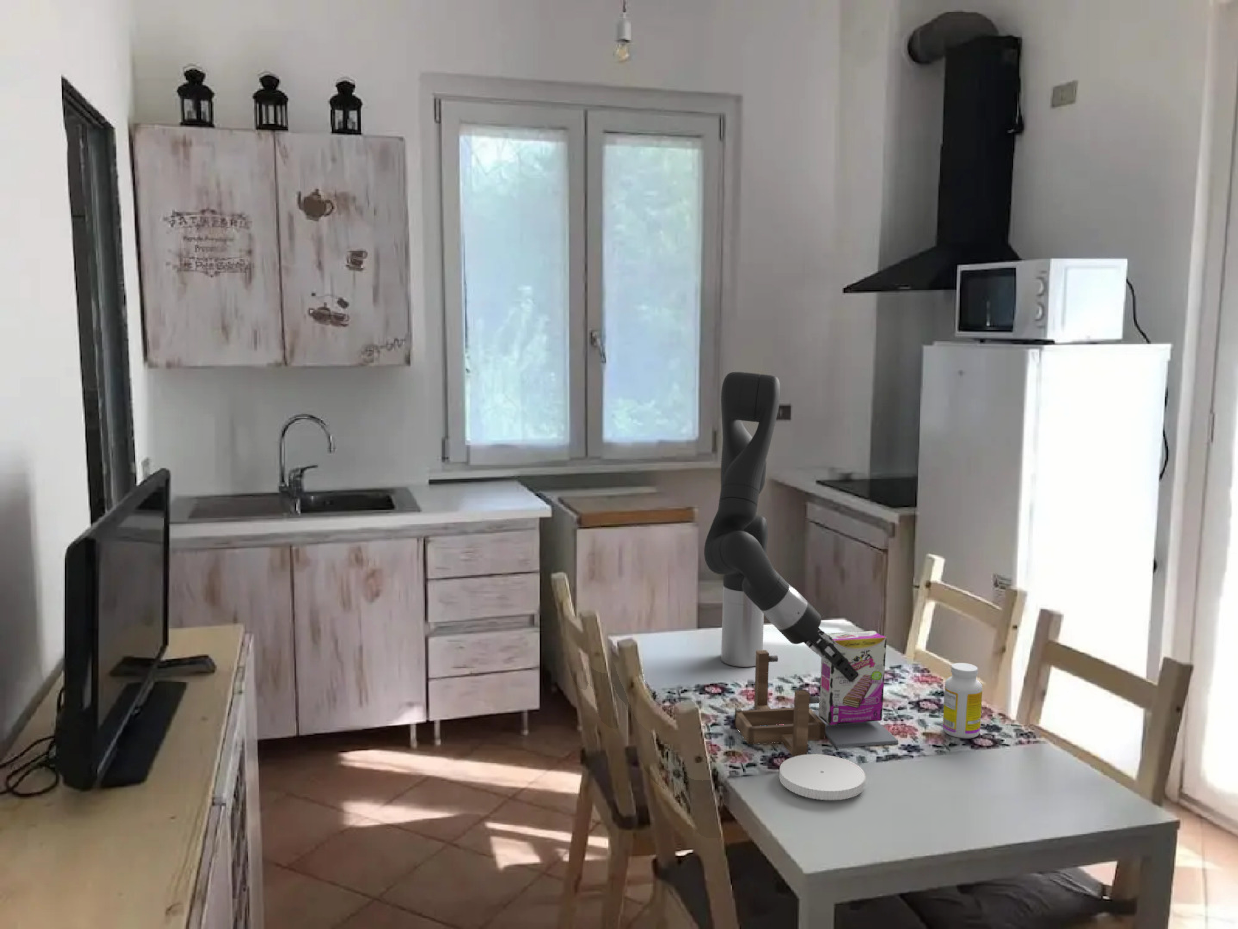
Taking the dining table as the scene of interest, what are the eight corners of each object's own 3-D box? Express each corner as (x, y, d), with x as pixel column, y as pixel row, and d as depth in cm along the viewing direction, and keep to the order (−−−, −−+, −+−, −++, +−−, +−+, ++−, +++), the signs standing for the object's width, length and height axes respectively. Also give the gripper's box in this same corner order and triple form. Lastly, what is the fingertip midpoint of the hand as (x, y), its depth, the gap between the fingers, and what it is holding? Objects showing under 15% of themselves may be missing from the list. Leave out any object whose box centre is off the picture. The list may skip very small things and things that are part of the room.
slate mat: (804, 714, 203) (804, 711, 203) (862, 710, 205) (862, 707, 205) (835, 747, 187) (836, 744, 187) (898, 743, 190) (898, 740, 189)
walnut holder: (723, 710, 204) (725, 652, 202) (794, 706, 207) (796, 648, 205) (761, 762, 181) (763, 696, 179) (840, 757, 183) (843, 692, 182)
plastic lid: (798, 761, 182) (798, 747, 182) (876, 780, 175) (876, 766, 175) (765, 792, 171) (766, 777, 170) (847, 814, 163) (848, 799, 163)
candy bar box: (830, 726, 192) (833, 640, 190) (817, 717, 197) (820, 633, 195) (884, 721, 195) (887, 636, 193) (871, 712, 200) (874, 629, 198)
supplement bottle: (981, 729, 197) (985, 664, 195) (977, 742, 191) (982, 675, 189) (944, 723, 199) (948, 658, 197) (939, 735, 193) (943, 669, 192)
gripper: (818, 609, 184) (878, 671, 188) (791, 588, 198) (847, 646, 202) (788, 639, 184) (849, 701, 187) (763, 616, 198) (820, 673, 201)
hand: (848, 672), depth 195 cm, fingers closed on candy bar box, 5 cm apart
